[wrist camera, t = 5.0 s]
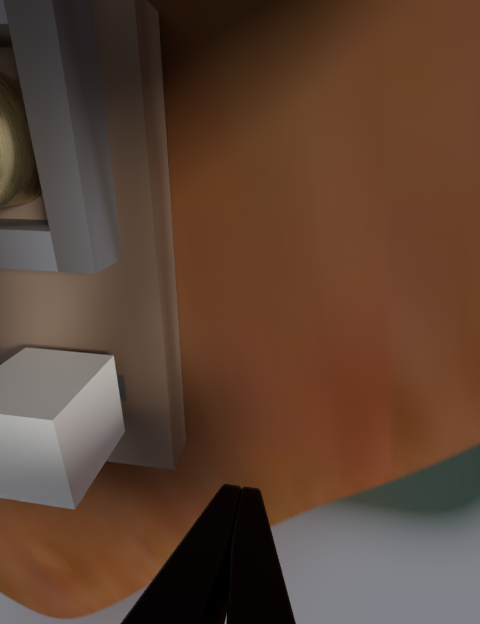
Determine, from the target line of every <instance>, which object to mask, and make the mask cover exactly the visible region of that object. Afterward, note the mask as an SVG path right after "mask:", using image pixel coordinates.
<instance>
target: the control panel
mask: <svg viewBox="0 0 480 624" xmlns="http://www.w3.org/2000/svg"><path fill="white" fill-rule="evenodd" d="M0 71H1V72H3V73H5V74H7V75H9V76H10V77H12V78H13V79H15V80H16V81H17V82H19V83H20V85H21V90H22V95H23V100H24V105H25V110H26V115H27V120H28V125H29V130H30V135H31V140H32V145H33V150H34V155H35V160H36V164H37V169H38V174H39V179H40V184H41V189H42V192H41V194H40V195H38V196H37V197H36V198H35V199H33V200H31V201H29V202H27V203H24V204H19V205H14V206H8V207H2V208H0V365H1V364H3V363H4V362H6V361H7V360H8V359H10V358H11V357H13V356H14V355H16V354H17V353H19V352H20V351H21V350H23V349H24V348H26V347H27V348H38V349H48V350H59V351H70V352H81V353H92V354H103V355H113V356H114V361H115V368H116V374H117V381H118V388H119V394H120V401H121V407H122V414H123V420H124V427H125V432H124V434H123V435H122V437H121V438H120V440H119V442H118V443H117V445H116V446H115V448H114V449H113V451H112V453H111V454H110V456H109V457H108V459H107V460H106V461H108V462H115V463H123V464H130V465H138V466H145V467H152V468H160V469H167V470H174V471H175V468H176V466H177V463H178V461H179V458H180V455H181V453H182V450H183V448H184V445H185V443H186V430H185V415H184V399H183V384H182V368H181V353H180V337H179V322H178V306H177V291H176V275H175V260H174V244H173V229H172V213H171V198H170V182H169V167H168V151H167V136H166V120H165V105H164V89H163V74H162V58H161V43H160V27H159V12H158V11H157V10H156V9H155V8H154V7H153V6H152V5H151V4H150V3H149V2H148V1H147V0H0Z"/></svg>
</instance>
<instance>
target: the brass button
mask: <svg viewBox="0 0 480 624" xmlns="http://www.w3.org/2000/svg"><path fill="white" fill-rule="evenodd" d="M41 192H42V189H41V184H40V179H39V174H38V169H37V164H36V160H35V155H34V150H33V145H32V140H31V135H30V130H29V125H28V120H27V115H26V110H25V105H24V100H23V95H22V90H21V85H20V83H19V82H17V81H16V80H15V79H13V78H12V77H10V76H9V75H7V74H5V73H3V72H1V71H0V208H2V207H8V206H14V205H19V204H24V203H27V202H29V201H31V200H33V199H35V198H36V197H37V196H38V195H40V194H41Z"/></svg>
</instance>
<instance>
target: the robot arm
mask: <svg viewBox="0 0 480 624" xmlns="http://www.w3.org/2000/svg"><path fill="white" fill-rule="evenodd" d="M226 615H227V624H296V623H295V619H294V615H293V612H292V608H291V604H290V601H289V596H288V593H287V589H286V586H285V582H284V578H283V574H282V570H281V566H280V562H279V559H278V555H277V551H276V548H275V544H274V540H273V536H272V532H271V528H270V525H269V521H268V517H267V513H266V509H265V506H264V502H263V498H262V494H261V491H260V490H259V489H258V488H251V487H243V488H242V490H241V487H240V486H236V485H229V484H224V485H223V486H222V487H221V488H220V489H219V491H218V492H217V493H216V495H215V496H214V497H213V499H212V500H211V502H210V503H209V504H208V506H207V507H206V508H205V510H204V511H203V512H202V514H201V515H200V516H199V518H198V519H197V521H196V522H195V523H194V525H193V526H192V527H191V529H190V530H189V531H188V533H187V534H186V536H185V537H184V538H183V540H182V541H181V542H180V544H179V545H178V546H177V548H176V549H175V550H174V552H173V553H172V555H171V556H170V557H169V559H168V560H167V561H166V563H165V564H164V565H163V567H162V568H161V569H160V571H159V572H158V574H157V575H156V576H155V578H154V579H153V580H152V582H151V583H150V584H149V586H148V587H147V588H146V590H145V591H144V593H143V594H142V595H141V597H140V598H139V599H138V601H137V602H136V603H135V605H134V606H133V608H132V609H131V610H130V612H129V613H128V614H127V616H126V617H125V618H124V620H123V621H122V622H121V624H224V623H225V619H226Z"/></svg>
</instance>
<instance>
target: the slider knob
mask: <svg viewBox="0 0 480 624" xmlns="http://www.w3.org/2000/svg"><path fill="white" fill-rule="evenodd" d="M124 432H125V427H124V420H123V414H122V407H121V401H120V394H119V388H118V381H117V374H116V368H115V361H114V356H113V355H103V354H92V353H81V352H70V351H59V350H48V349H38V348H27V347H26V348H24V349H23V350H21V351H20V352H19V353H17V354H16V355H14V356H13V357H11V358H10V359H8V360H7V361H6V362H4V363H3V364H1V365H0V498H4V499H11V500H17V501H23V502H30V503H36V504H42V505H49V506H55V507H62V508H68V509H74V510H75V509H76V507H77V506H78V504H79V503H80V501H81V500H82V498H83V496H84V495H85V493H86V492H87V490H88V489H89V487H90V486H91V484H92V482H93V481H94V479H95V478H96V476H97V475H98V473H99V471H100V470H101V468H102V467H103V465H104V464H105V462H106V460H107V459H108V457H109V456H110V454H111V453H112V451H113V449H114V448H115V446H116V445H117V443H118V442H119V440H120V438H121V437H122V435H123V434H124Z"/></svg>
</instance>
